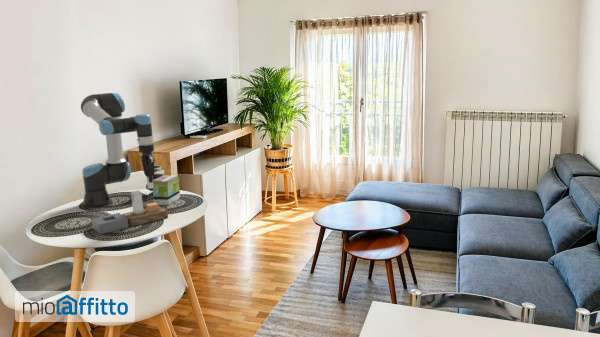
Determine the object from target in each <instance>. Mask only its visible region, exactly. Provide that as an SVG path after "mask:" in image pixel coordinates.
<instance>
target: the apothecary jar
mask: <svg viewBox="0 0 600 337" xmlns="http://www.w3.org/2000/svg"><path fill="white" fill-rule="evenodd" d="M163 175H165V170H164V169H162V166H161V165H159V164H158V165H156V164H154V175H153V180H155V179H157V178H159V177H161V176H163ZM144 176H146V174H144ZM145 188H146V190H148V191H149V192H150V193H148V196H149V197H153V188H150V189H148V186H147V184H145Z"/></svg>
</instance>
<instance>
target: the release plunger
mask: <svg viewBox="0 0 600 337" xmlns="http://www.w3.org/2000/svg"><path fill="white" fill-rule="evenodd" d="M159 206H160V205H159V204H158V203H156V202H154V201H153V202H150V203H146V204H145V209H147V211H148V212H150V213H151V212H155V211H159Z"/></svg>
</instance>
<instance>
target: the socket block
mask: <svg viewBox="0 0 600 337" xmlns="http://www.w3.org/2000/svg"><path fill="white" fill-rule="evenodd" d="M168 211H169V210H168V209H165V208H164V207H161V205H159V211H155V212H151V213H150V212H148V211H147V209H146V208H143V212H144V214H142V215H138V216H134V215H133V211H130V212H125V213H122V215H123V216H125V217H127V219H128V226H129V227H135V226H140V225H143V224H148V223H151V222H155V221H156V222H157V221H160V220H164V219H167V218H169V212H168Z"/></svg>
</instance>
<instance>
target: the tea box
mask: <svg viewBox="0 0 600 337" xmlns="http://www.w3.org/2000/svg"><path fill="white" fill-rule="evenodd" d="M153 186H154V188H153V191H152V192H153V196H152V197H153V202H156V203H158V204H159V206H170V205H171V204H172V203H174V202H177V201H178V200H180V199H181V192H180V191H181V190H180V179H179V175H173V174H172V175H167V174H164V175H163V176H161V177H159V178H157V179H155V180H153ZM179 198H180V199H179Z"/></svg>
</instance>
